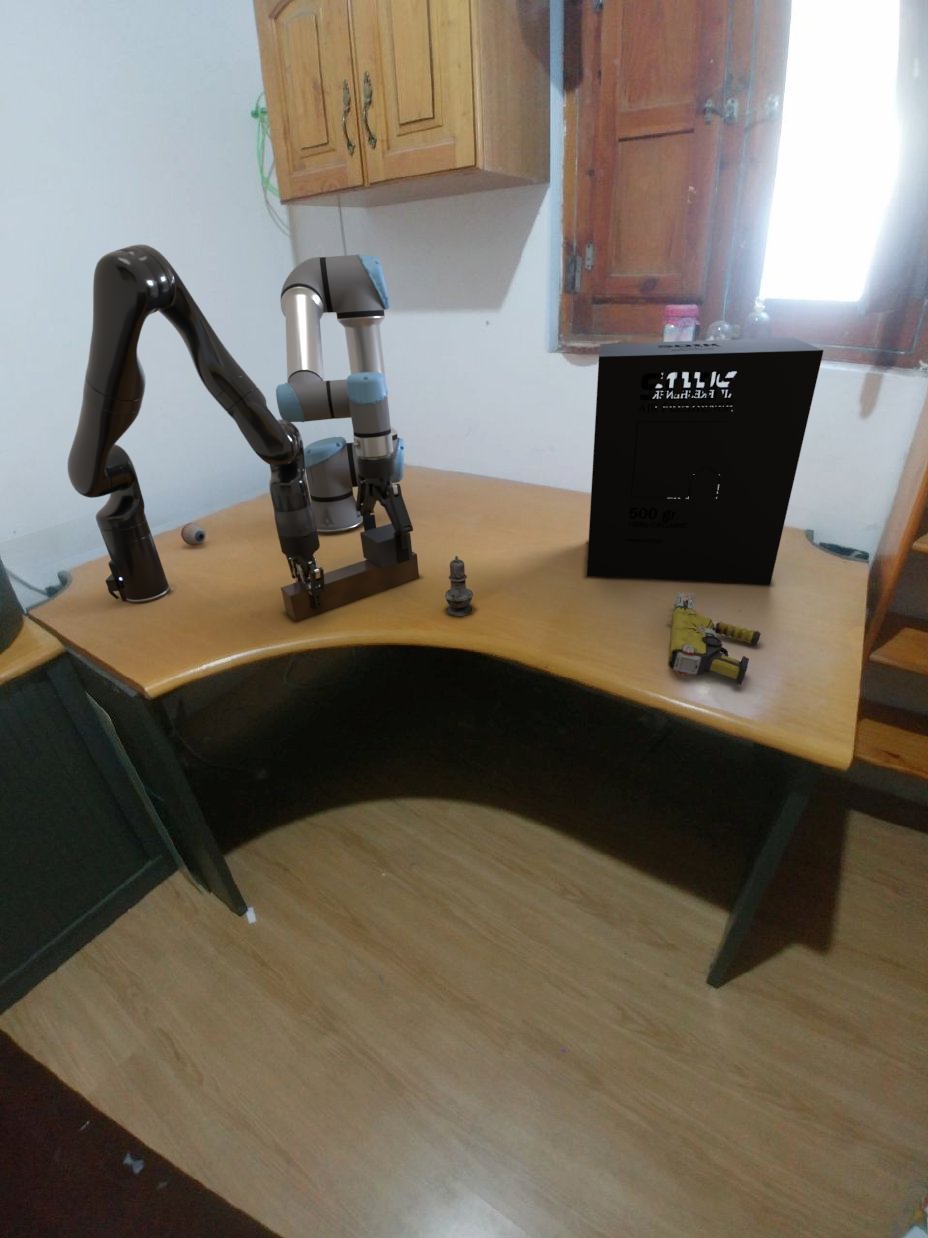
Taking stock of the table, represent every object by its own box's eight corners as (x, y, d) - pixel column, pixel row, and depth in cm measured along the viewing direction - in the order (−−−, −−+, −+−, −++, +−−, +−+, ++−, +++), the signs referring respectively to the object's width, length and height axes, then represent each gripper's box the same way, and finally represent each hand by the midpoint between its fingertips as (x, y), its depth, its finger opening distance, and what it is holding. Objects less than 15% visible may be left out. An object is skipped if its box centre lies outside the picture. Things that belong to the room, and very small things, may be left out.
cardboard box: (751, 546, 143) (793, 337, 120) (770, 584, 126) (823, 350, 103) (589, 540, 150) (600, 343, 128) (586, 576, 133) (598, 356, 111)
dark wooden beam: (295, 621, 123) (289, 595, 120) (286, 612, 126) (280, 587, 123) (419, 577, 138) (416, 553, 135) (407, 570, 141) (405, 547, 138)
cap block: (381, 568, 129) (377, 542, 126) (363, 557, 134) (359, 532, 131) (412, 558, 132) (410, 532, 129) (394, 547, 138) (391, 523, 135)
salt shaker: (471, 617, 120) (468, 562, 114) (442, 615, 121) (438, 561, 115) (476, 603, 125) (474, 550, 119) (449, 601, 126) (445, 549, 120)
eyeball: (194, 551, 158) (188, 529, 155) (180, 546, 161) (173, 525, 158) (213, 542, 162) (208, 521, 159) (199, 539, 165) (192, 518, 162)
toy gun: (759, 604, 113) (676, 588, 117) (772, 670, 93) (671, 649, 97) (752, 625, 115) (671, 610, 119) (763, 695, 95) (665, 673, 99)
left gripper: (265, 523, 121) (282, 597, 130) (292, 543, 111) (309, 623, 119) (300, 513, 125) (314, 587, 133) (330, 532, 115) (343, 610, 123)
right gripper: (331, 448, 129) (346, 540, 139) (390, 470, 111) (402, 574, 122) (362, 441, 133) (374, 532, 143) (424, 462, 115) (432, 564, 125)
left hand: (312, 603), depth 126 cm, fingers closed on dark wooden beam, 5 cm apart
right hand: (387, 552), depth 132 cm, fingers open, 13 cm apart
